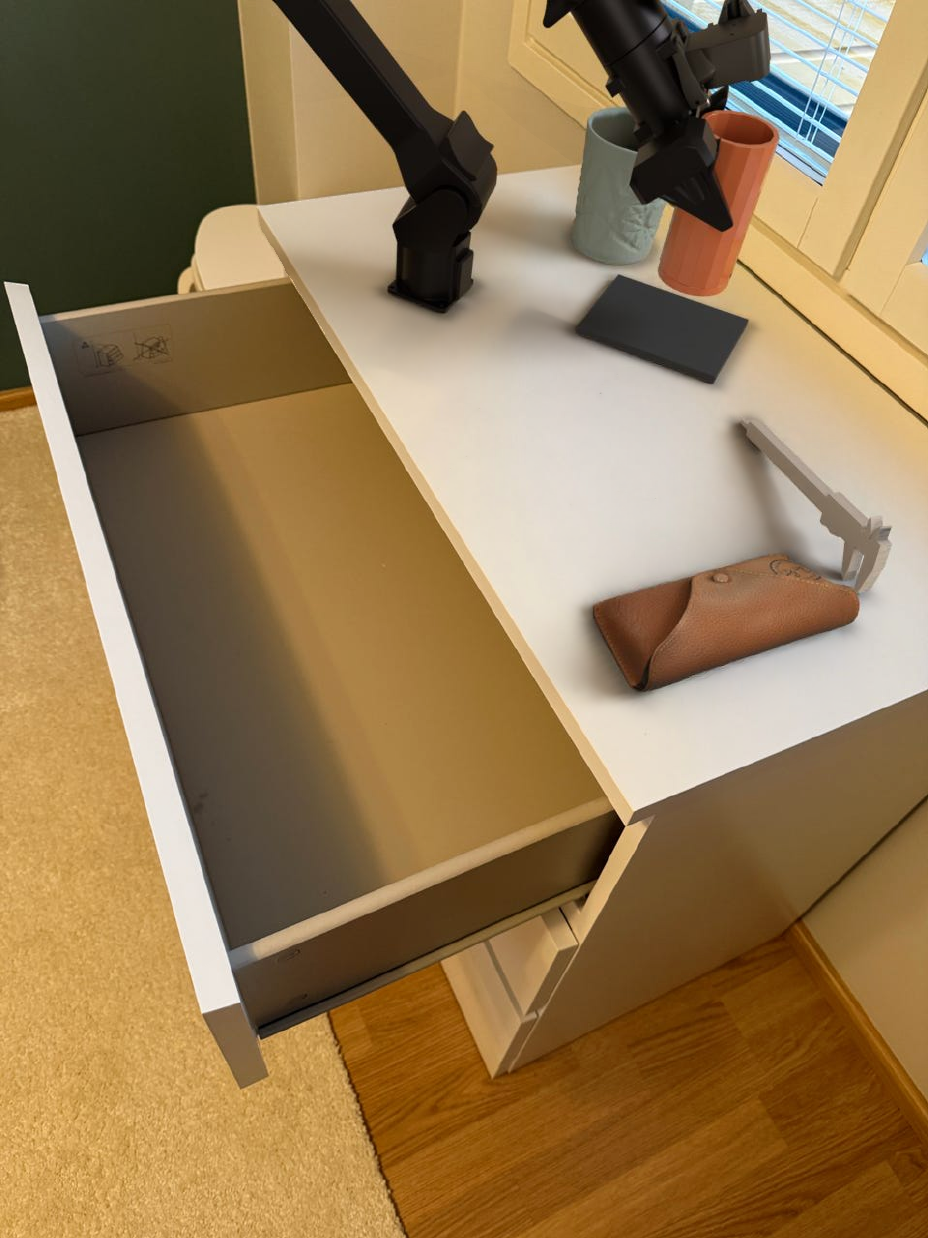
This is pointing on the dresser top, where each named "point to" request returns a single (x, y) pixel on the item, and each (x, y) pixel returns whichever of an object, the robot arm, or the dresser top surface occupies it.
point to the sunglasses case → (719, 618)
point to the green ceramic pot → (612, 193)
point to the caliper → (831, 511)
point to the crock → (701, 251)
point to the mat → (663, 328)
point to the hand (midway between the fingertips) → (730, 209)
